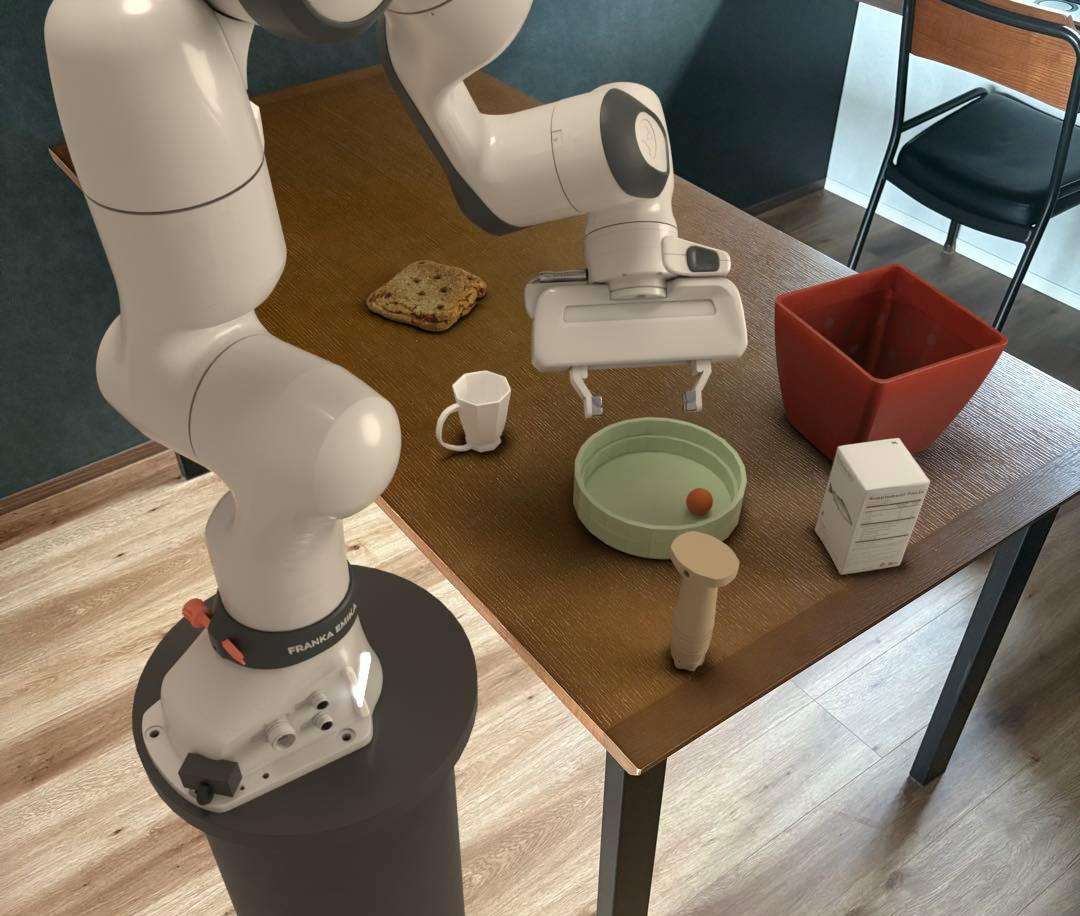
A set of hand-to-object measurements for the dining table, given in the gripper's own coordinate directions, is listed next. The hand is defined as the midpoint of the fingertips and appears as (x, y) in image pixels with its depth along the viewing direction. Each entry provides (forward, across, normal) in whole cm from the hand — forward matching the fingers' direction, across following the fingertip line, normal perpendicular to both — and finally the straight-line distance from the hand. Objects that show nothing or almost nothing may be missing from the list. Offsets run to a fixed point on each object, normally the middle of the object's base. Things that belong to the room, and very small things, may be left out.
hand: (643, 414), depth 101 cm
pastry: (-25, -19, +55) cm, 63 cm away
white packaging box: (+14, +26, +16) cm, 34 cm away
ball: (+8, +10, +20) cm, 23 cm away
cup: (-1, -15, +32) cm, 35 cm away
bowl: (+8, +5, +23) cm, 25 cm away
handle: (+24, +4, +7) cm, 25 cm away
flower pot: (0, +33, +30) cm, 45 cm away
